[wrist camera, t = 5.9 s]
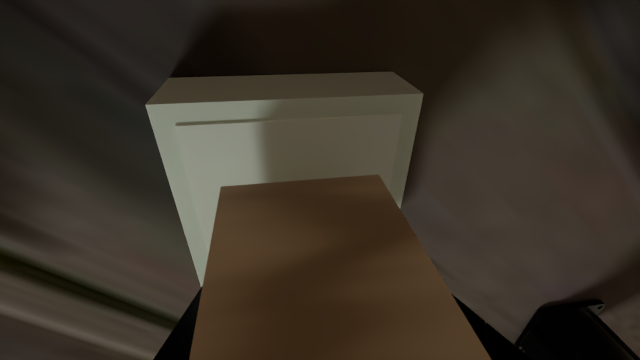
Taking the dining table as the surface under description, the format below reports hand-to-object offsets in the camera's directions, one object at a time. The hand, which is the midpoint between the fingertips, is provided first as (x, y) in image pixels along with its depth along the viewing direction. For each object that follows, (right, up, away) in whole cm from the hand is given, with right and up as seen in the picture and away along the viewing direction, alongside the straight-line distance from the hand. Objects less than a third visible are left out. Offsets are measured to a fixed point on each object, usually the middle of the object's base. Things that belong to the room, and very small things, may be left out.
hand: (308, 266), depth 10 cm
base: (-1, +3, +5) cm, 6 cm away
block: (0, +1, +1) cm, 1 cm away
